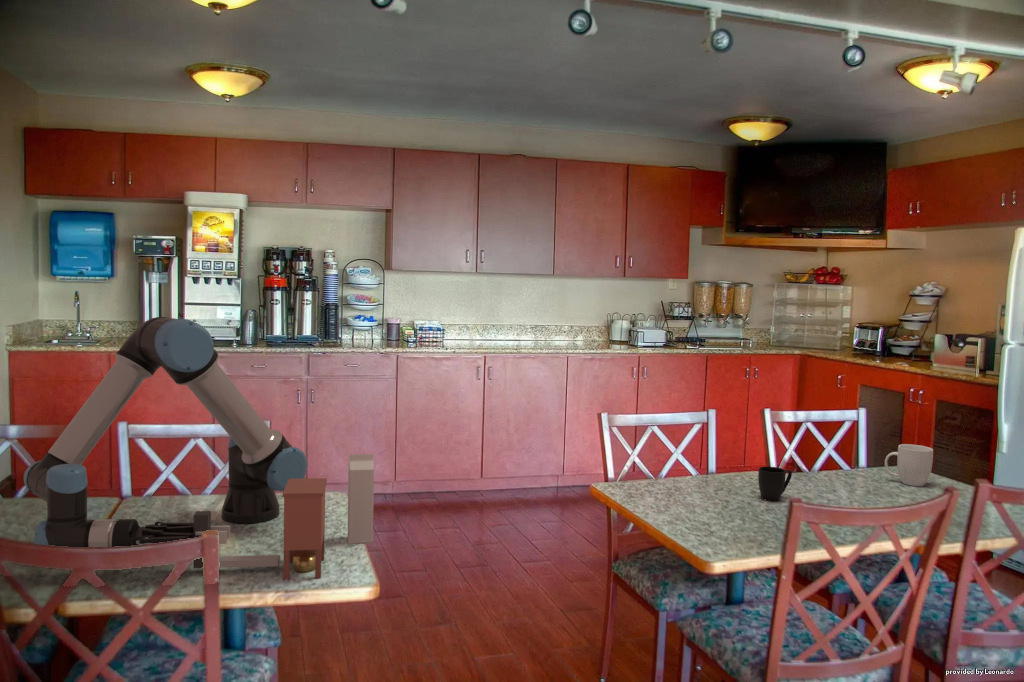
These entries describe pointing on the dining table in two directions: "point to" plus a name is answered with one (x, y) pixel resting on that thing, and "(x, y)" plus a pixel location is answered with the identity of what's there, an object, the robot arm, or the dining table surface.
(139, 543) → the robot arm
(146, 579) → the dining table surface
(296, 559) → the token
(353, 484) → the milk
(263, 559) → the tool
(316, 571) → the cabinet
